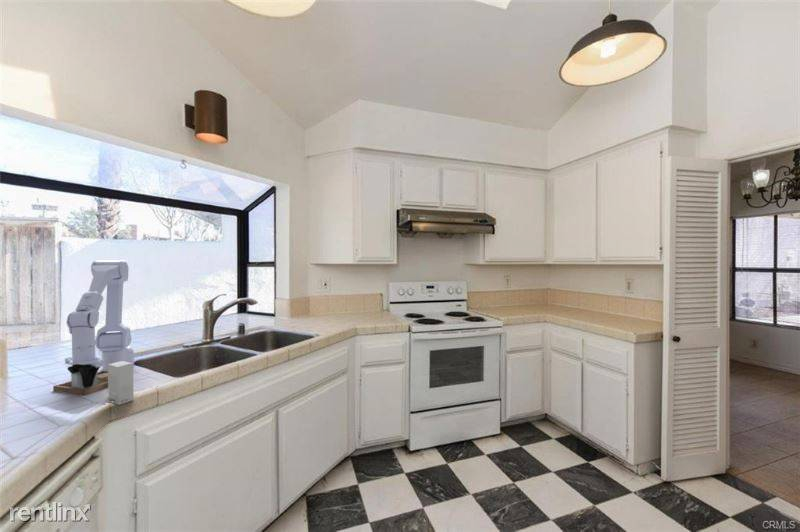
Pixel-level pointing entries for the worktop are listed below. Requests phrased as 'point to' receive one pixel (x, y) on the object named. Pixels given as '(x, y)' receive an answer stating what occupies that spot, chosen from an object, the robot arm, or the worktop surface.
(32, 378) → the worktop surface
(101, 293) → the robot arm
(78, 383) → the pale grey rectangular prism
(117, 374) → the skincare box
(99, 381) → the offcut short
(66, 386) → the frame
